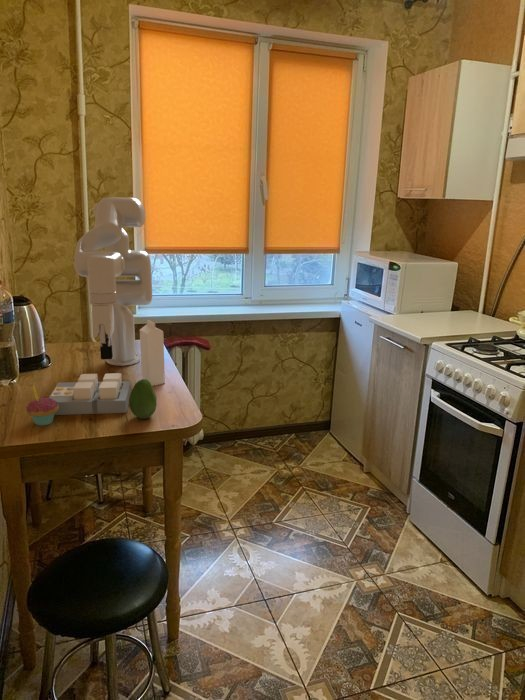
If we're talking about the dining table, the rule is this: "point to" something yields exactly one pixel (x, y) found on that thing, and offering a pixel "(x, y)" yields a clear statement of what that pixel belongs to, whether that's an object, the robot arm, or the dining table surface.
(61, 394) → the board
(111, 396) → the button
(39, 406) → the cupcake
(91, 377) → the button
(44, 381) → the dining table surface
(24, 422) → the dining table surface
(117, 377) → the button
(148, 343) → the milk
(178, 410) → the dining table surface
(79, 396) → the button
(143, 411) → the avocado
